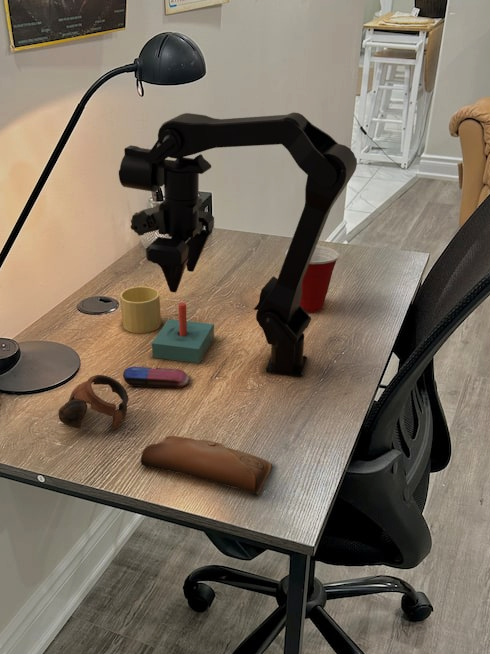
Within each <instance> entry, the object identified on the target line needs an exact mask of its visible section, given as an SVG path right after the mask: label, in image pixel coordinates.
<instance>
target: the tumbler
mask: <svg viewBox="0 0 490 654" xmlns="http://www.w3.org/2000/svg"><path fill="white" fill-rule="evenodd" d="M160 299H161V298H160V292H159V290H158V289H157V288H154V287H152V286H144V285H141V286H139V285H138V286H132V287H128V288H125V289H124V290H123V291H121V292H120V294H119V301H120V311H121V321H122V322H121V323H122V327H123V328H124V330H125V331H128V332H130V333H134V334H145V333H151V332H154V331H156V330H157V329H159V328H160V327H161V326H162V315H161V314H162V313H161V300H160Z"/></svg>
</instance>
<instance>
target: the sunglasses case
mask: <svg viewBox="0 0 490 654" xmlns="http://www.w3.org/2000/svg"><path fill="white" fill-rule="evenodd" d="M140 464H141V466H144V467H147V468H152V469H156V470H161V471H168V472H171V473H177V474H183V475H186V476H190V477H193V478H196V479H200V480H205V481H209V482H212V483H215V484H219V485H222V486H227V487H230V488H233V489H238V490H242V491H245V492H249V493H252V494H256V495H259V494H260V493H261V491H262V489H263V487H264V485H265V484H266V482H267V480H268V477H269V475H270V473H271V471H272V468H273V464H272V463H271V462H270V461H267V460H266V459H264V458H262V457H259V456H256V455H253V454H251V453H248V452H244V451H241V450H238V449H235V448H230V447H226V445H225V444H223V443H218V442H215V441H211V440H207V439H195V438H189V437H184V436H178V435H169V436H167V437H165V438H164V439H163V440H161V441H159V442H158V443H152V444H148V445H147V446H146V447H144V449H143V450H142V453H141V456H140Z"/></svg>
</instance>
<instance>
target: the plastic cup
mask: <svg viewBox="0 0 490 654" xmlns="http://www.w3.org/2000/svg"><path fill="white" fill-rule="evenodd" d="M288 250H289V248H287V249H286V251H285V252H284V254H285V256H286V255H287V252H288ZM340 256H341V255H340V252H339V251H338V250H336V249H333V248H331V247H327V246H323V245H321V246H320V245H316V248H315V250H314V253H313V255H312V258H311V261H310V263H309V266H308V268H307V271H306V273H305V276H304V278H303V281H302V297H301V302H300V306H301V307H302V308H303V309H304V310H305V311H306V312H307V313H308V314H309V313H317V312H319V311H321V310H323V307H324V305H325V303H326V302H325V301H326V297H327V294H328V291H329V287H330V284H331V280H332V277H333V272H334V269H335V266H336V263H337V261H338V260H339V257H340Z"/></svg>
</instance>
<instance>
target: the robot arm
mask: <svg viewBox="0 0 490 654" xmlns="http://www.w3.org/2000/svg"><path fill="white" fill-rule="evenodd" d="M276 145H277V146H278V145H281V146H283V147H284V148H285V149H286V151H288V153H289V154H290V156H291V157H292V159H293V161H294V162H295V163H296V165H297V167H298V168H299V169H301V171H302V172H303V173H305V174H306V175H307V176H306V177H307V178H306V182H305V188H304V189H305V190H304V199H305V200H304V207H303V210H302V212H301V215H300V217H299V220H298V222H297V225H296V228H295V231H294V233H293V235H292V239H291V242H290V244H289V247H288V249H289V250H288V249H287V250H288V252H287V255H285V258H284V260H283V264H282V266H281V269H280V271H279V274H278V277H276V276H271V278H270V279H269V280H268V282H267V283H266V284H264V286H263V287H262V288H261V290H260V294H259V300H258V302H257V304H256V305H255V307H254V308H253V310H254V311H256V314H255V320H256V322H257V323H258V325H259V327H260V328H261V329H262V330H263V334H264V337H265V339H266V342H267V344H268V345H271V346H270V347H271V348H270V357H269V360H268V362H267V365H266V367H265V373H271V374H278V375H285V376H293V377H294V376H295V377H302V376H303V373H304V370H305V367H306V364H307V361H308V357H307V356H306V355H304V349H305V334H304V332H305V331H306V330H307V329H308V327H309V325H310V323H311V321H312V317H311V316H310V315H309V313H308V312H306V311H305V310H304V309H303V308H302V307H301V306H300V302H301V297H302V281H303V278H304V276H305V273H306V271H307V268H308V266H309V263H310V261H311V258H312V255H313V253H314V250H315V248H316V246H318V243H319V241H320V237H321V235H322V233H323V229H324V228H325V225H326V223H327V220H328V218H329V215H330V213H331V210H332V208H333V207H334V205H335V203H336V202H337V200H338V199H339V197H340V196H341V195H342V192H343V191H344V190H345V189H346V186H347V185H348V183H349V182H350V180H351V178H353V175H354V174H355V172H356V170H357V166H358V160H357V158H356V156H355V153H354V152H353V151H352V149H351V148H350V147H349V146H347V145H345V144H340V143H338V142H337V141H336V140H335V139H334V138H333V137H332V136H331V135H329V134H328V133H326V132H325V131H323V130H322V129H321V128H319V127H317V126H316V125H314V124H313V123H312V122H310V121H309V119H308V118H306V116H304V115H303V114H301V113H299V112H296V111H295V112H294V111H293V112H290V113H288V114H277V115H264V116H263V115H262V116H248V117H233V118H215V117H211V116H209V115H206V114H199V113H190V112H185V113H181V114H179V115H177V116H175V117H173V118H171V119H168V120H167V121H165V122H163V123H162V124H161V125H160V127H159V129H158V133H157V141H156V142H155V143H154V145H153V146H152V148H144V147H139V146H138V145H128V146H126V147H125V148H124V150H123V151H124V155H123V157H122V158H121V162H120V166H119V169H118V180H119V183H120V185H121V186H122V187H123V188H128V189H134V190H138V191H139V190H140V191H145V192H151V193H152V192H153V193H155V192H158V190H160V188H162V187H163V188H164V189H163V190H164V191H163V192H164V193H163V194H164V195H163V196H164V197H163V198H164V200H163V201H162V202H161V203H160V204H159V205H157V206H152V207H148V208H145V209H142V210H140V211H138V212H135V213H134V214H132V216H131V219H130V223H131V225H130V229H131V230H132V231H133V232H134V233H136V234H137V236H138V237H139V236H144V235H145V234H148V233H153V232H157V231H158V235H162V236H163V235H164V236H166V235H168V237H162V236H158V237H156V238H155V239H154V240H153V241H152V242H151V243H150V244H149V245H148V246H147V247H146V248H145V256H146V257H145V259H146V260H147V261H148V262H151V263H152V264H156V265H158V267H160V268H161V271H162V273H163V276H164V278H165V281H166V284H167V287H168V290H169V292H171V293H177V291H178V289H179V286H180V284H181V281H182V279H183V276H184V272H185V270H187V272H190V273H193V272H194V271H195V269H196V266H197V264H198V262H199V260H200V258H201V255H202V253H203V251H204V249H205V246H206V244H207V242H208V240H209V238H210V236H211V234H212V230H213V229H214V228H215V217H214V215H212V213H211V212H210V211H205V210H199V209H200V208H201V207H202V205H203V198H199V195H200V193H199V188H200V186H199V185H200V183H199V182H200V180H199V177H200V176H199V175H203V174H205V173H206V172H207V171H209V170H211V168H212V164H211V163H210V162H209V161H208V160H206V159H205V158H204V156H203V154H202V153H203V152H205V151H209V150H212V149H218V148H219V149H220V148H236V147H237V148H239V147H257V146H276ZM196 154H198V155H197V156H195V157H194V158H192V157H188V156H193V155H196ZM168 158H169V159H168ZM172 159H175V160H172Z"/></svg>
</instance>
